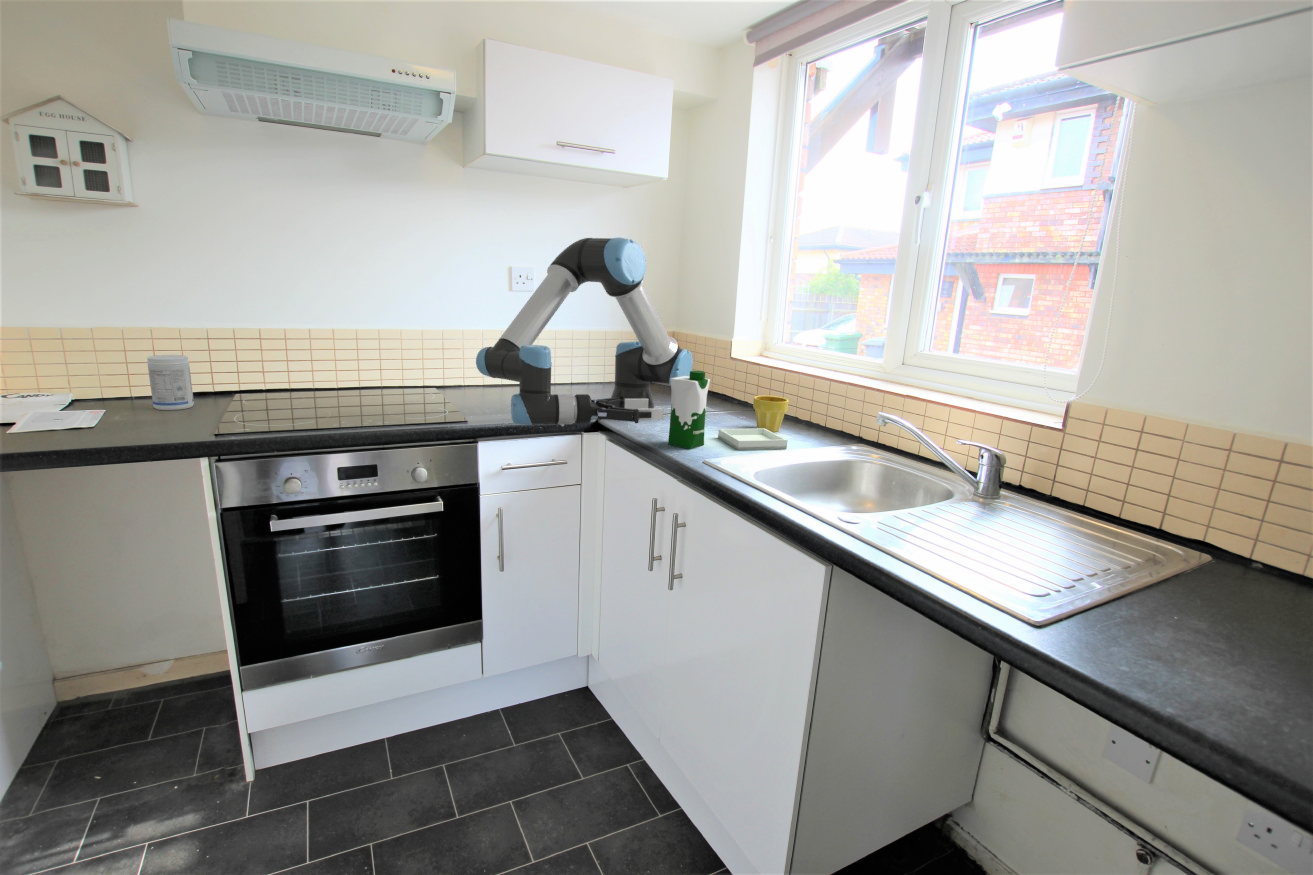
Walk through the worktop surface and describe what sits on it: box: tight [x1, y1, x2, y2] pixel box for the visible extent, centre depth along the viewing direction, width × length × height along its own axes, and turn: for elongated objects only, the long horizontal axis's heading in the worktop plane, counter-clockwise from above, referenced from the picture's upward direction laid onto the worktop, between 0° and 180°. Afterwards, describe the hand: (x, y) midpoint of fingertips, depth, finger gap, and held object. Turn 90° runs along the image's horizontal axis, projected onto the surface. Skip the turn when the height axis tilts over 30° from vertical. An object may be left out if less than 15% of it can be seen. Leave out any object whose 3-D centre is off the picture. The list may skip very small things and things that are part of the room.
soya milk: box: [667, 370, 711, 450], centre depth 173 cm, size 9×9×20 cm
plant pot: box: [752, 395, 789, 433], centre depth 198 cm, size 10×10×10 cm
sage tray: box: [717, 427, 788, 451], centre depth 181 cm, size 14×14×2 cm
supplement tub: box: [146, 354, 195, 411], centre depth 186 cm, size 10×10×15 cm
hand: (655, 408), depth 170 cm, fingers open, 13 cm apart
